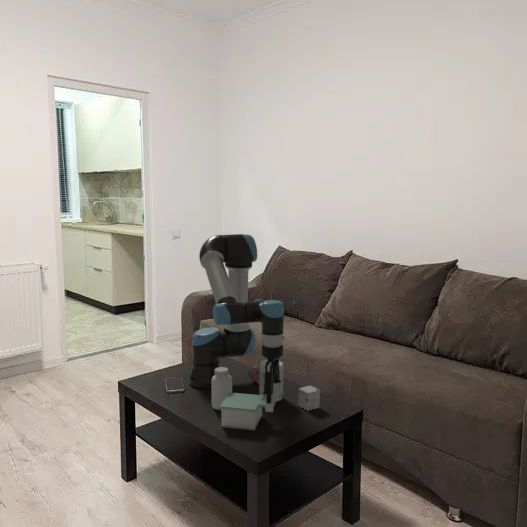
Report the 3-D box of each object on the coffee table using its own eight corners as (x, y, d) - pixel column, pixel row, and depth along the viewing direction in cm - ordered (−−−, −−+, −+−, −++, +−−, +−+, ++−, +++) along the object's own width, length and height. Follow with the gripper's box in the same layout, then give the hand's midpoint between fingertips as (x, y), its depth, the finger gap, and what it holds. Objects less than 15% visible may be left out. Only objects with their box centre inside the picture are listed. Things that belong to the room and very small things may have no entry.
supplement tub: (263, 404, 203) (263, 368, 201) (256, 395, 212) (256, 360, 210) (286, 401, 206) (286, 365, 204) (278, 392, 215) (278, 358, 213)
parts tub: (230, 412, 195) (230, 395, 194) (261, 415, 192) (262, 397, 191) (221, 426, 183) (221, 408, 182) (254, 430, 181) (254, 411, 180)
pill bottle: (212, 411, 196) (211, 373, 194) (211, 402, 204) (210, 366, 202) (233, 410, 197) (233, 372, 195) (231, 401, 205) (231, 365, 203)
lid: (229, 396, 195) (229, 379, 194) (277, 401, 191) (277, 383, 190) (219, 411, 182) (219, 392, 181) (270, 416, 178) (270, 396, 177)
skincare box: (297, 406, 201) (298, 388, 200) (309, 402, 205) (310, 384, 204) (307, 411, 196) (308, 393, 195) (320, 407, 200) (320, 389, 199)
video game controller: (258, 379, 235) (251, 365, 235) (267, 375, 233) (260, 361, 233) (251, 386, 225) (244, 372, 225) (260, 383, 224) (253, 368, 224)
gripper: (277, 354, 170) (276, 419, 173) (288, 336, 191) (287, 395, 194) (254, 353, 172) (254, 417, 175) (268, 335, 193) (268, 393, 196)
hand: (272, 405), depth 185 cm, fingers open, 9 cm apart
